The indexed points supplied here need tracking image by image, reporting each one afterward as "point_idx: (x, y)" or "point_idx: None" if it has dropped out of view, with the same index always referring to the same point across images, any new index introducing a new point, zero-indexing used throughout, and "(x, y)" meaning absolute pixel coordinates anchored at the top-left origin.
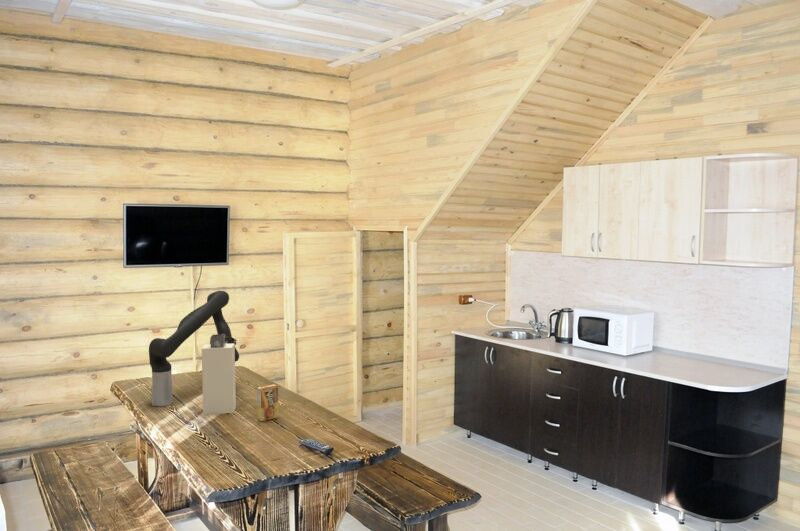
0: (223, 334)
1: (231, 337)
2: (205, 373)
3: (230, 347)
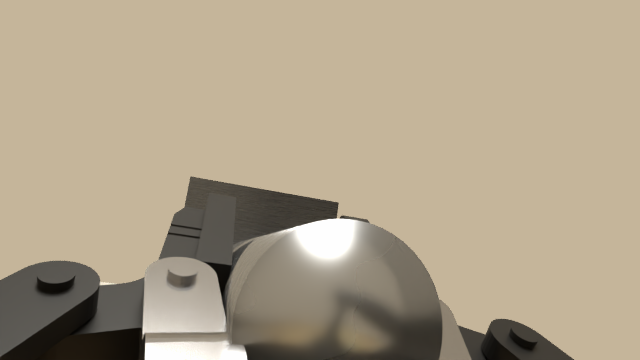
0: (212, 180)
1: (19, 283)
2: None
3: (109, 284)
